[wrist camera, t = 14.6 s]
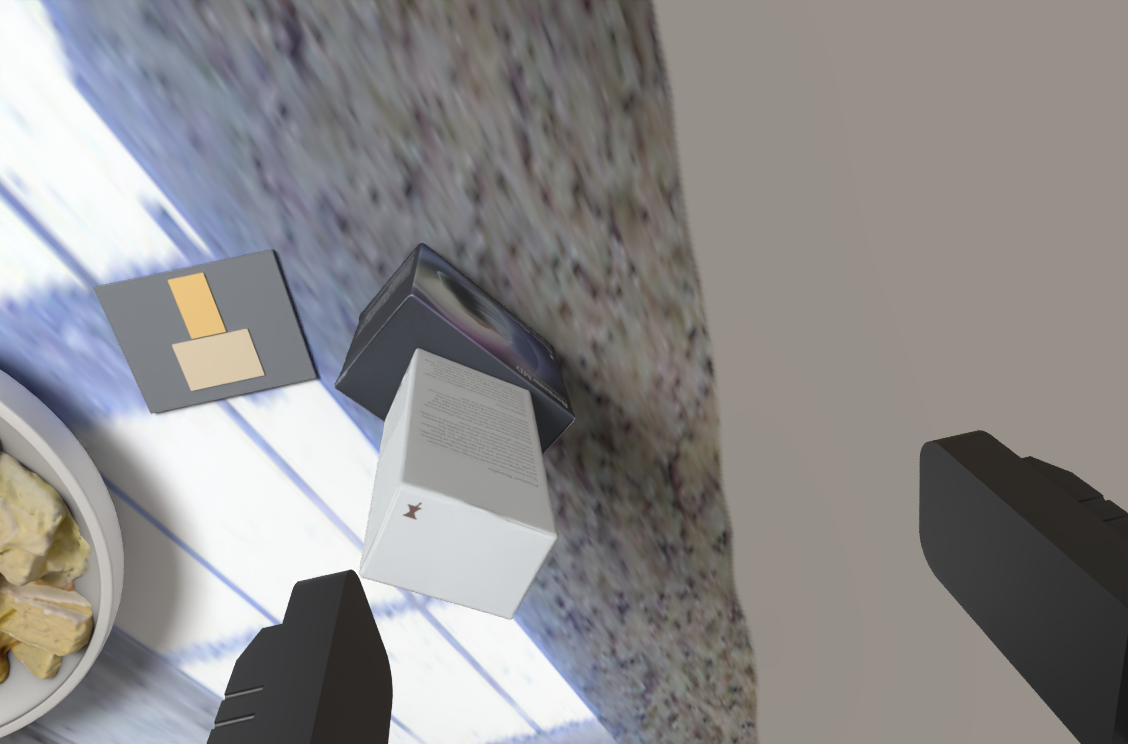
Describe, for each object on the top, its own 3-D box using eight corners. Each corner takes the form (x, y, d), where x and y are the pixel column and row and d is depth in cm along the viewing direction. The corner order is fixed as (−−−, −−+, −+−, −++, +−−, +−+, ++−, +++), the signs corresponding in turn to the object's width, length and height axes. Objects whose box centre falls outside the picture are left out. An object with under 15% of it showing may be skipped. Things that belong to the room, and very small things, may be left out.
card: (96, 286, 44) (92, 288, 44) (273, 249, 44) (271, 250, 44) (152, 411, 47) (150, 414, 47) (316, 375, 48) (316, 378, 47)
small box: (560, 343, 49) (584, 419, 39) (493, 417, 50) (500, 508, 41) (423, 234, 45) (412, 289, 35) (355, 318, 46) (327, 392, 37)
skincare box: (383, 420, 38) (351, 578, 27) (416, 344, 37) (396, 478, 26) (498, 461, 40) (512, 625, 29) (534, 390, 38) (563, 534, 27)
